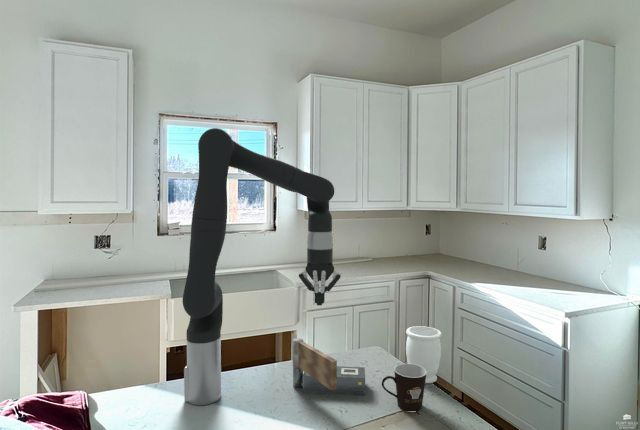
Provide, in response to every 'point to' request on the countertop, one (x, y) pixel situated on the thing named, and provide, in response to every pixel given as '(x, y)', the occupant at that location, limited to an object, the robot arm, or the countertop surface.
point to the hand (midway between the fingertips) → (319, 304)
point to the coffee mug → (408, 386)
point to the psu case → (339, 382)
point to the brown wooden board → (315, 363)
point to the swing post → (297, 378)
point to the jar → (424, 349)
